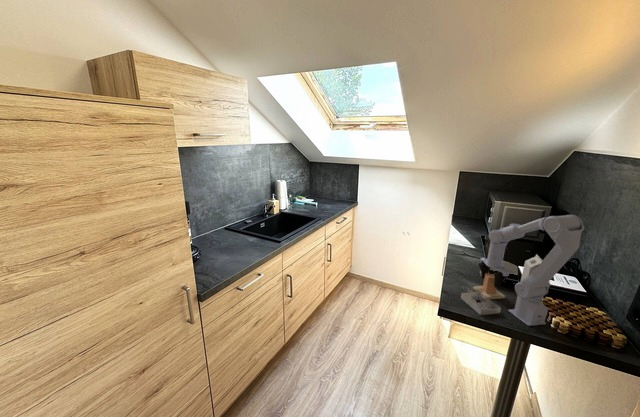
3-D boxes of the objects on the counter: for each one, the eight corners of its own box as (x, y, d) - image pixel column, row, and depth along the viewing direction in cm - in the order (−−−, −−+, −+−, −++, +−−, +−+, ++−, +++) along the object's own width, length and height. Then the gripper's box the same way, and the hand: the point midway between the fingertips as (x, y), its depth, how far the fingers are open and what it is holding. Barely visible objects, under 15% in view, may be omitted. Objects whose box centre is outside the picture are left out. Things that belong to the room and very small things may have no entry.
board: (504, 297, 119) (505, 295, 118) (486, 299, 117) (487, 297, 117) (489, 287, 127) (490, 285, 127) (472, 288, 126) (473, 286, 126)
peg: (495, 294, 120) (498, 278, 118) (485, 292, 121) (488, 277, 119) (491, 289, 124) (494, 274, 121) (482, 288, 124) (485, 273, 122)
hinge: (479, 276, 137) (482, 257, 138) (478, 275, 142) (481, 256, 142) (518, 284, 130) (521, 264, 131) (516, 282, 135) (518, 263, 135)
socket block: (499, 313, 108) (501, 307, 107) (480, 315, 107) (481, 309, 106) (478, 296, 120) (479, 291, 119) (460, 297, 118) (461, 293, 118)
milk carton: (536, 292, 123) (546, 255, 118) (542, 301, 117) (552, 262, 112) (518, 289, 126) (526, 252, 121) (523, 297, 119) (532, 259, 114)
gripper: (517, 262, 111) (511, 290, 115) (491, 248, 125) (486, 274, 128) (502, 263, 110) (496, 291, 114) (477, 249, 124) (473, 275, 127)
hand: (490, 282), depth 121 cm, fingers open, 7 cm apart
